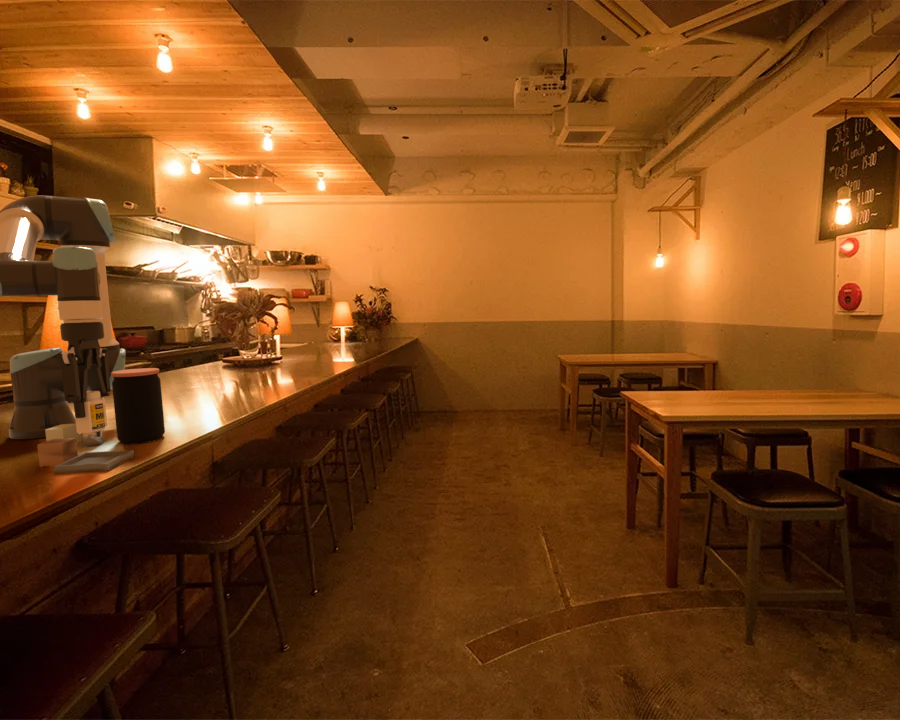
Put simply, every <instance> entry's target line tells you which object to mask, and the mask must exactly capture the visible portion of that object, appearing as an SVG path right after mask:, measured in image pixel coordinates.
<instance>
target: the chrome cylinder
mask: <svg viewBox="0 0 900 720" xmlns="http://www.w3.org/2000/svg"><path fill="white" fill-rule="evenodd" d="M80 438H81V446H82V447H84V446H87V447H94V446H98V445H101V444H103V443H104V438H103V430H101V431H97V432H91V433H80Z"/></svg>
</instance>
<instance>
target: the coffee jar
mask: <svg viewBox="0 0 900 720" xmlns="http://www.w3.org/2000/svg"><path fill="white" fill-rule="evenodd" d="M159 374H160V368H157V367H149V368H148V367H145V368H143V367H142V368H140V367H139V368H130V369H125V370H120V371H114V372H112V373H111V375H112V376H113V378H114V380H113V382H112V389H111V390H112V396H113V398H112V399H113V408H114V419H115V427H116V428H115V430H116V437H117V440H118V441H119V442H120V443H121V444H123V443H124V445H132V444H131V443H139V444H144V443H143V442H146V443H150V442H149V441H151V442H153V440H155V441H158V440H160V439H162V438H163V436H164V434H165V432H166V429H165V420H164V406H163V395H162V385H161V383H162V382H161V378H160V377H159ZM157 439H158V440H157Z"/></svg>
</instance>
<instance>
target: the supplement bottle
mask: <svg viewBox="0 0 900 720" xmlns="http://www.w3.org/2000/svg"><path fill="white" fill-rule="evenodd" d="M100 396H101V395H100V391H87V399H86V402H90V411H91V421H92V431H93V432H97V431H101V430H102V431H104V430H105V429H106V427H105V419H104V408H103V401H102V400H100V399H99V398H100Z"/></svg>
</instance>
